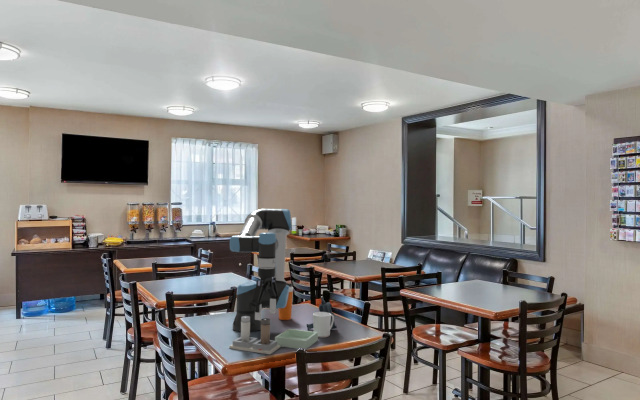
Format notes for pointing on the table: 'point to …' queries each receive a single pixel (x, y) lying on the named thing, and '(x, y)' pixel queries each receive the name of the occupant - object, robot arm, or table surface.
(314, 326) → the mug
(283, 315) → the shaker bottle
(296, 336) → the parts tray
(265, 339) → the fuse
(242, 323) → the fuse
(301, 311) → the table surface
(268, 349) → the panel
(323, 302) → the gun
